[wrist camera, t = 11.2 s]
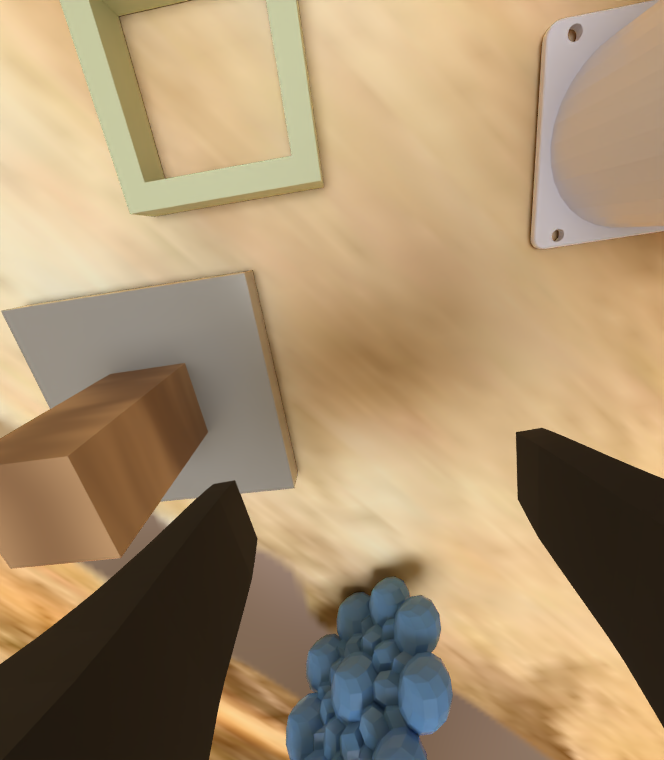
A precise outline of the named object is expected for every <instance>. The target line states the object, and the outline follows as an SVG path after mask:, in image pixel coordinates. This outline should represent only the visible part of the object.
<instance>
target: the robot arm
mask: <svg viewBox="0 0 664 760" xmlns="http://www.w3.org/2000/svg"><path fill="white" fill-rule="evenodd" d="M569 29H572V30H574V31H575V32H576V40H575V42H571V41H570V40H569V39H568V31H569ZM555 230H558V231H559V236H558V238H557V239H556V241H553V240H552V234H553V232H554V231H555ZM662 231H664V0H652V1H647V2H642V3H637V4H632V5H627V6H622V7H617V8H612V9H607V10H602V11H597V12H592V13H587V14H583V15H578V16H573V17H568V18H563V19H560V20H558V21H556V22H555V23H554V24H553V25H552V26H551V27H550V28H549V29H548V30H547V31H546V33H545V35H544V37H543V42H542V55H541V72H540V89H539V106H538V123H537V140H536V157H535V174H534V191H533V208H532V225H531V244H532V245H533V247H535V248H537V249H548V248H555V247H562V246H568V245H575V244H582V243H588V242H595V241H602V240H608V239H615V238H622V237H628V236H635V235H642V234H648V233H655V232H662ZM516 450H517V487H518V500H519V502H520V504H521V506H522V508H523V510H524V512H525V514H526V516H527V518H528V519H529V521H530V523H531V525H532V527H533V528H534V530H535V532H536V534H537V536H538V537H539V539H540V540H541V542H542V543H543V545H544V546H545V548H546V549H547V551H548V552H549V553H550V555H551V556H552V558H553V559H554V561H555V562H556V564H557V565H558V566H559V568H560V569H561V571H562V572H563V574H564V575H565V576H566V578H567V579H568V581H569V582H570V583H571V585H572V586H573V588H574V589H575V591H576V592H577V593H578V595H579V596H580V598H581V599H582V600H583V602H584V603H585V605H586V606H587V607H588V609H589V610H590V612H591V613H592V615H593V616H594V617H595V619H596V620H597V622H598V623H599V624H600V626H601V627H602V629H603V630H604V632H605V633H606V634H607V636H608V637H609V639H610V640H611V642H612V643H613V645H614V646H615V648H616V649H617V651H618V652H619V654H620V656H621V657H622V659H623V660H624V662H625V663H626V665H627V667H628V668H629V670H630V672H631V673H632V675H633V677H634V678H635V680H636V682H637V683H638V685H639V687H640V688H641V690H642V692H643V693H644V695H645V697H646V699H647V700H648V702H649V704H650V705H651V707H652V709H653V710H654V712H655V714H656V715H657V717H658V719H659V720H660V722H661V724H662V725H663V727H664V479H663V478H660V477H658V476H655V475H653V474H650V473H648V472H645V471H643V470H641V469H638V468H636V467H633V466H631V465H629V464H626V463H624V462H622V461H619V460H617V459H615V458H612V457H610V456H608V455H605V454H603V453H601V452H598V451H596V450H594V449H592V448H589V447H587V446H585V445H582V444H580V443H578V442H576V441H573V440H571V439H569V438H566V437H564V436H562V435H559V434H557V433H554V432H552V431H549V430H546V429H544V428H539V429H533V430H527V431H521V432H516ZM256 546H257V536H256V534H255V531H254V528H253V526H252V523H251V521H250V518H249V515H248V513H247V510H246V507H245V505H244V502H243V500H242V497H241V494H240V492H239V489H238V486H237V484H236V481H235V480H233V481H228V482H222V483H216V484H213V485H211V486H210V487H209V488H208V489H207V490H205V491H204V492H203V493H202V494H201V495H200V496H199V497H198V498H197V499H196V500H194V501H193V502H192V503H191V504H190V505H189V506H188V507H187V508H186V509H185V510H184V511H183V512H182V513H181V514H180V515H179V516H178V517H177V518H176V519H175V520H174V521H172V522H171V523H170V524H169V525H168V526H167V527H166V528H165V529H164V530H163V531H162V532H161V533H160V534H159V535H158V536H157V537H156V538H155V539H154V540H152V542H150V543H149V544H148V545H147V546H146V547H145V548H144V549H143V550H142V551H141V552H139V553H138V554H137V555H136V556H135V557H134V558H133V559H132V560H130V561H129V562H128V563H127V564H126V565H125V566H124V567H123V568H122V569H121V570H119V571H118V572H117V573H116V574H115V575H114V576H113V577H111V578H110V579H109V580H108V581H107V582H106V583H105V584H104V585H102V586H101V587H100V588H99V589H98V590H96V591H95V592H94V593H93V594H92V595H90V596H89V597H88V598H87V599H86V600H84V601H83V602H82V603H81V604H80V605H78V606H77V607H76V608H75V609H73V610H72V611H71V612H69V613H68V614H67V615H66V616H64V617H63V618H62V619H61V620H59V621H58V622H57V623H56V624H54V625H53V626H52V627H50V628H49V629H48V630H47V631H45V632H44V633H43V634H41V635H40V636H39V637H37V638H36V639H35V640H33V641H32V642H30V643H29V644H28V645H26V646H25V647H24V648H22V649H21V650H19V651H18V652H17V653H15V654H14V655H12V656H11V657H10V658H8V659H7V660H5V661H4V662H3V663H1V664H0V760H209V756H210V750H211V745H212V740H213V734H214V729H215V723H216V718H217V712H218V707H219V703H220V698H221V694H222V690H223V686H224V681H225V677H226V674H227V670H228V666H229V663H230V659H231V655H232V652H233V648H234V644H235V640H236V637H237V633H238V629H239V625H240V622H241V618H242V615H243V611H244V607H245V603H246V599H247V596H248V592H249V588H250V584H251V580H252V574H253V568H254V562H255V554H256Z"/></svg>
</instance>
